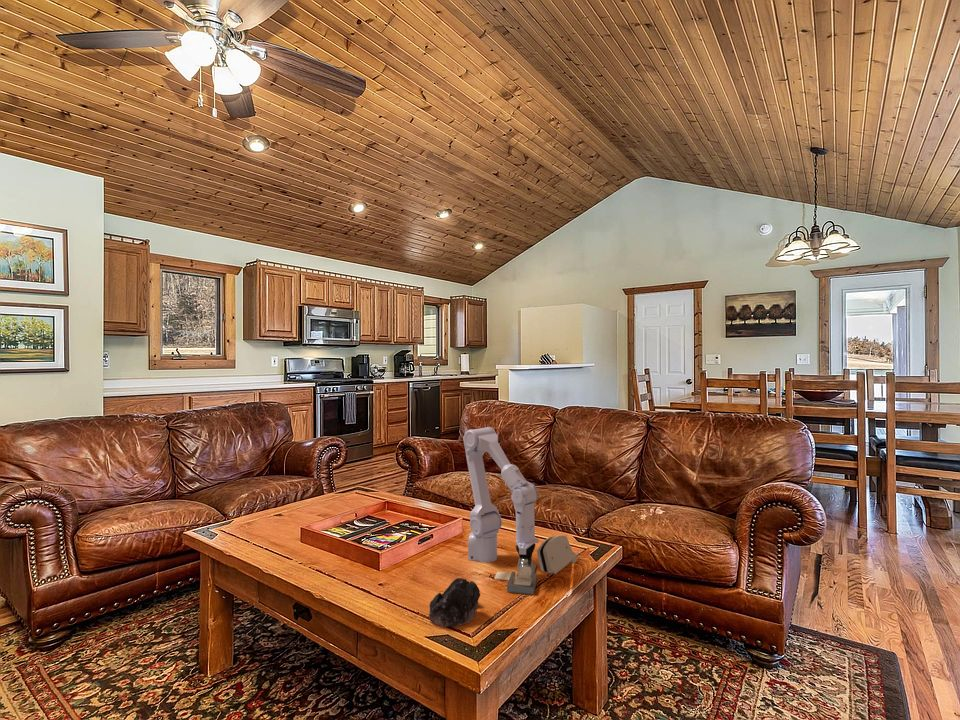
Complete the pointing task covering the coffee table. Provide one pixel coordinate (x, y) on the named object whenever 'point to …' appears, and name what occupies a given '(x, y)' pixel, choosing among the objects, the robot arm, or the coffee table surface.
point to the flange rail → (522, 583)
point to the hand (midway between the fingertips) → (526, 568)
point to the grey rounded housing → (555, 554)
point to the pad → (503, 575)
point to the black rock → (455, 604)
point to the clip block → (524, 568)
